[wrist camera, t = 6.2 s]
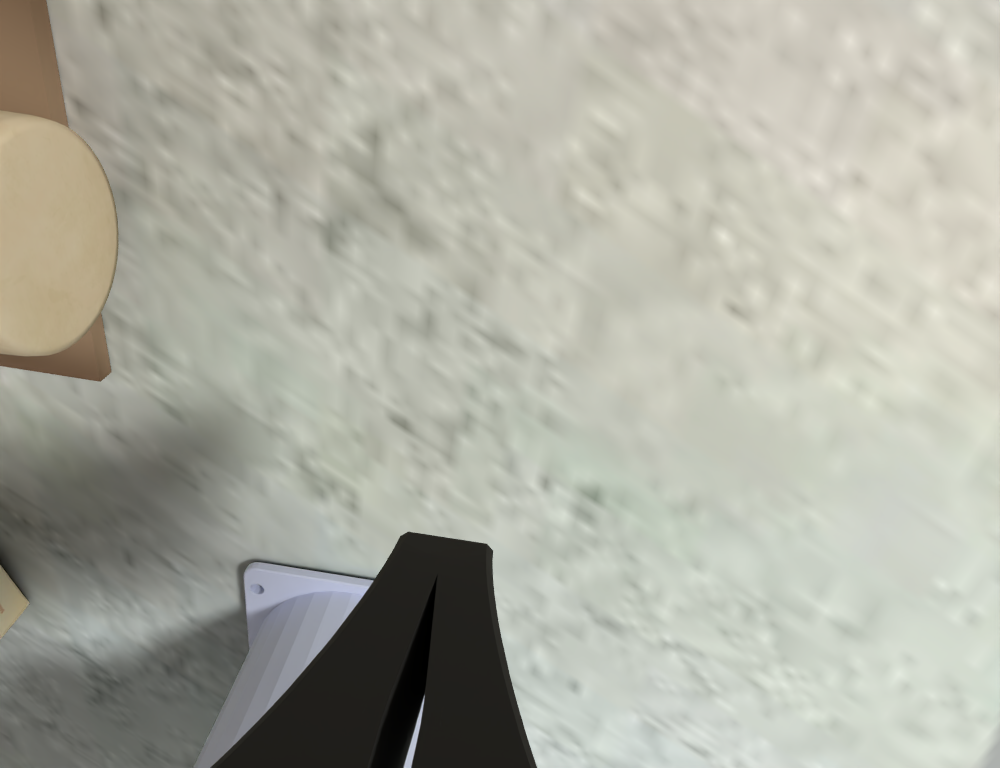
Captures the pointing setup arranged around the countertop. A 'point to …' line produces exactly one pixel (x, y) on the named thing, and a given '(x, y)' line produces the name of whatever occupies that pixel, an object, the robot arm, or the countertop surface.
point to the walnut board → (37, 91)
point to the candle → (51, 236)
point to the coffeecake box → (9, 602)
